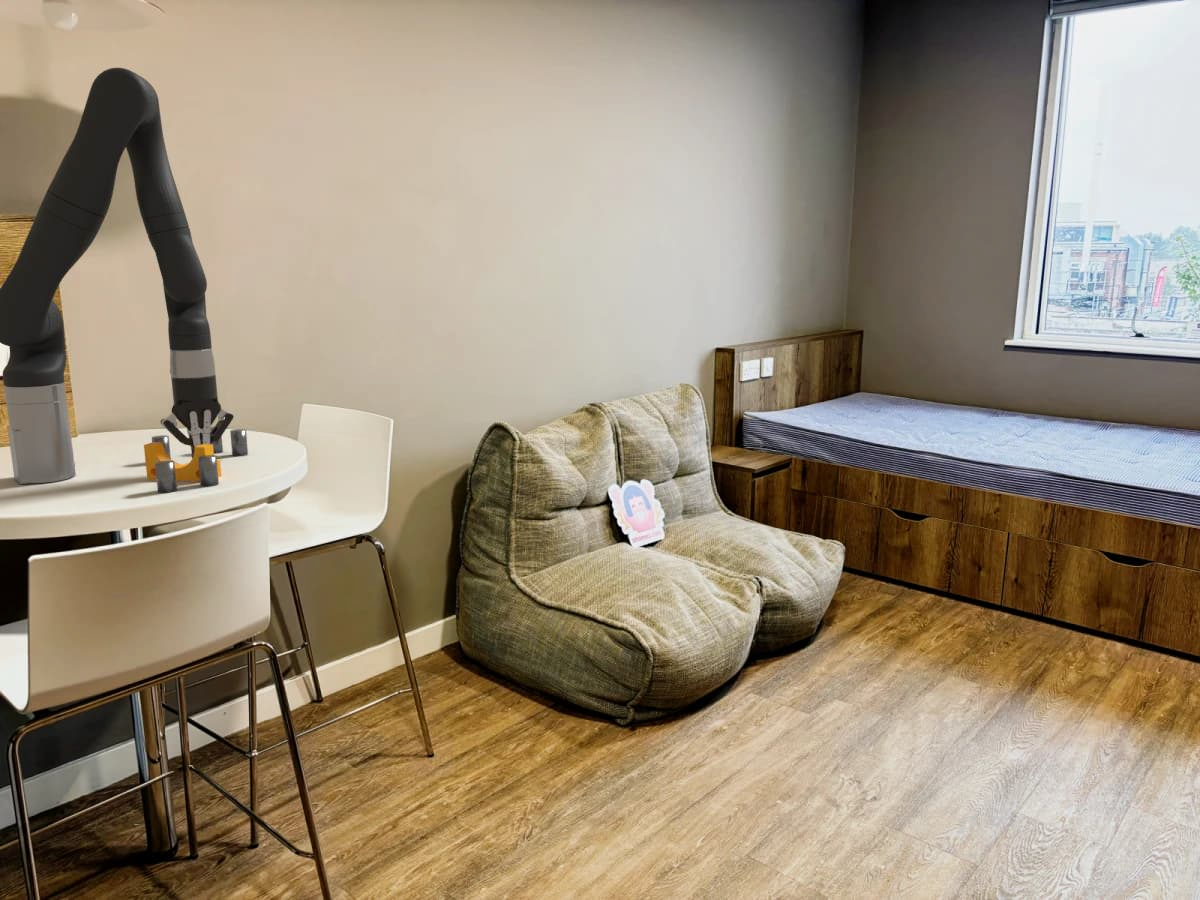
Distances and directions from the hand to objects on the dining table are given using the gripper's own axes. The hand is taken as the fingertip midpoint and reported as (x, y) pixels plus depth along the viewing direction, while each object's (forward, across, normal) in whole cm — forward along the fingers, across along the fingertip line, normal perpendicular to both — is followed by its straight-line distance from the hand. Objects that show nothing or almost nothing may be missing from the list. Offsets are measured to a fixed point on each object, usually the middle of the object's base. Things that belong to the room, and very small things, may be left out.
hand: (202, 465), depth 170 cm
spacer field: (+1, 0, +2) cm, 2 cm away
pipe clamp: (+1, -4, -3) cm, 6 cm away
